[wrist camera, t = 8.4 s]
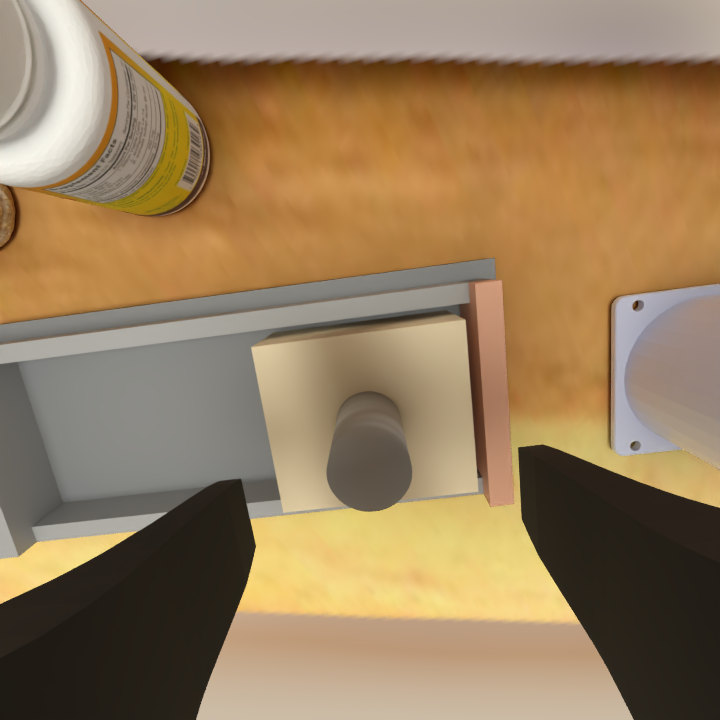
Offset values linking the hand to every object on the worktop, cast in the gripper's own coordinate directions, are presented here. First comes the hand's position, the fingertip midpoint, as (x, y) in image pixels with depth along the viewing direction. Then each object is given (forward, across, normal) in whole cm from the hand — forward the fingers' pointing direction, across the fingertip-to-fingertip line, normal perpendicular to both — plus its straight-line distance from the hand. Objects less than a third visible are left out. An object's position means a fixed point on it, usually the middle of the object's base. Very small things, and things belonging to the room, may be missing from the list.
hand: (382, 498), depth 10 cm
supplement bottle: (+10, +8, -12) cm, 18 cm away
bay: (+10, +6, 0) cm, 12 cm away
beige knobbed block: (+9, 0, 0) cm, 9 cm away
